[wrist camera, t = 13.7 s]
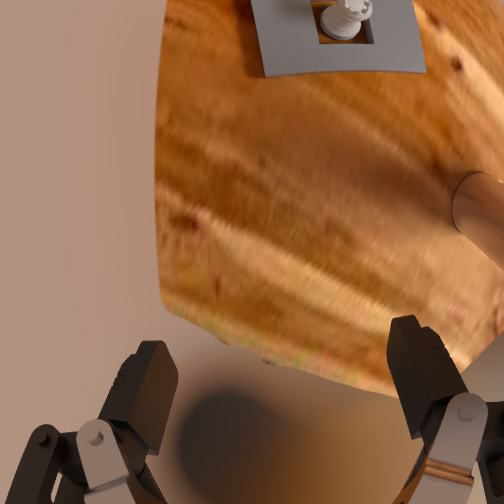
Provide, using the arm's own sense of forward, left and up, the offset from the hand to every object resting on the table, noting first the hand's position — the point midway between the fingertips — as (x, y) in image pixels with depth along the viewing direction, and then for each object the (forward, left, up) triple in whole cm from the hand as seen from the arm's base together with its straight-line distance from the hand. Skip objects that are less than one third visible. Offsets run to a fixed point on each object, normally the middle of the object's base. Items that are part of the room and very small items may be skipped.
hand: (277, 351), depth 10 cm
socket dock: (-10, -19, -26) cm, 34 cm away
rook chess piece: (-10, -17, -26) cm, 33 cm away
